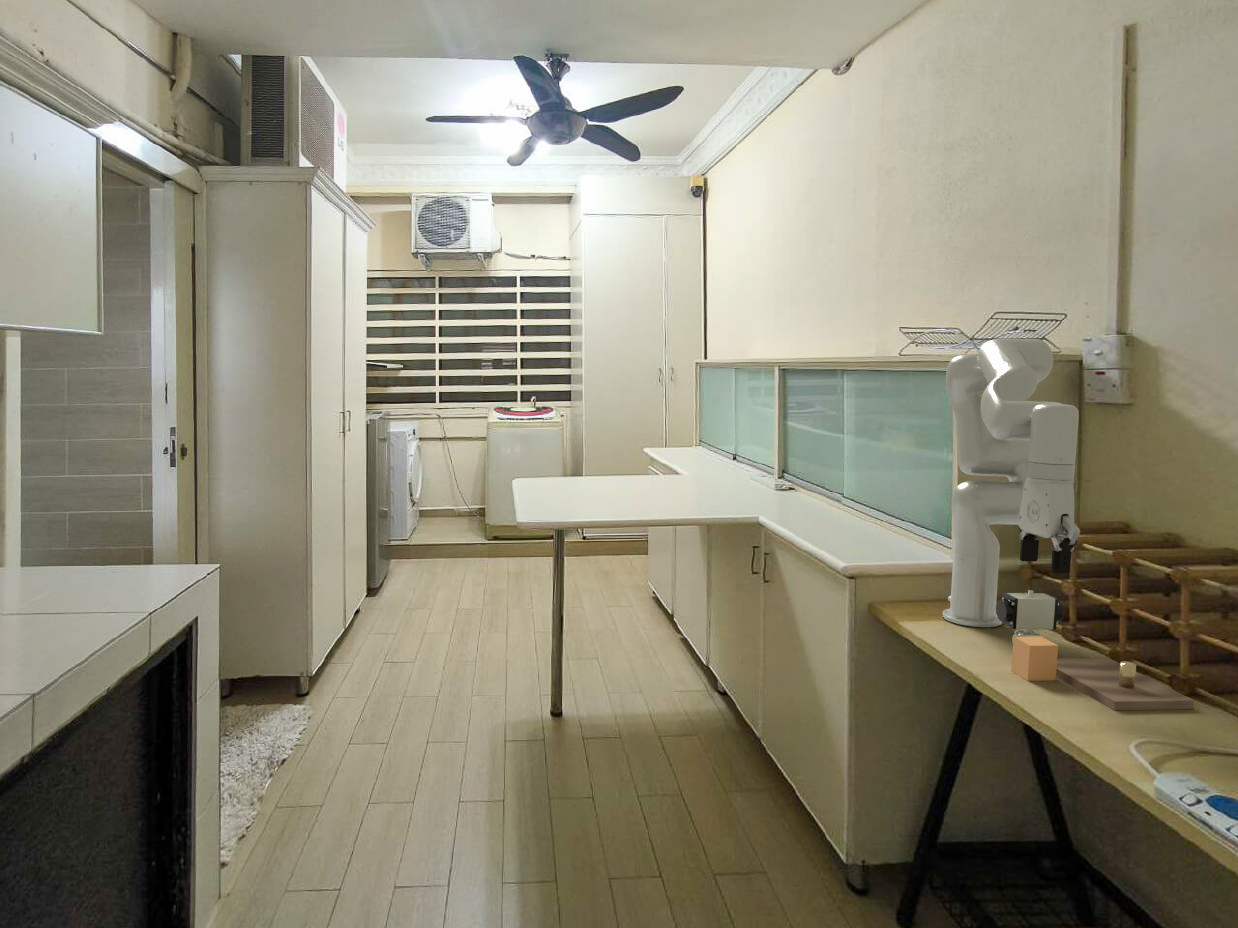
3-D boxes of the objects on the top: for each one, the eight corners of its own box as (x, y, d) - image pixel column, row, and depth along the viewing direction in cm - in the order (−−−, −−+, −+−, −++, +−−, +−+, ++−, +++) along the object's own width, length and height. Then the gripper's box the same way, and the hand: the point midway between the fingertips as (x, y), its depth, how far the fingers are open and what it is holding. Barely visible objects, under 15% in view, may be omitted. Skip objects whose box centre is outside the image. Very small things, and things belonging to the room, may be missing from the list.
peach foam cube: (1011, 670, 163) (1013, 636, 163) (1038, 670, 164) (1041, 636, 163) (1027, 680, 158) (1029, 645, 157) (1055, 680, 158) (1058, 645, 158)
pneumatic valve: (1061, 652, 175) (1065, 593, 174) (1004, 652, 174) (1008, 593, 173) (1046, 643, 181) (1050, 586, 179) (991, 643, 180) (994, 586, 179)
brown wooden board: (1038, 666, 166) (1040, 637, 166) (1107, 665, 168) (1109, 637, 167) (1114, 710, 144) (1117, 678, 144) (1193, 708, 146) (1196, 676, 145)
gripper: (1004, 467, 165) (998, 556, 166) (1060, 478, 148) (1052, 578, 149) (1042, 467, 166) (1036, 556, 167) (1101, 479, 148) (1094, 577, 150)
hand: (1043, 566), depth 158 cm, fingers open, 9 cm apart
